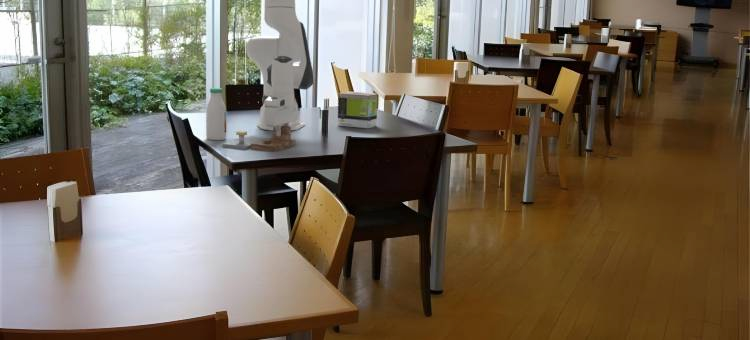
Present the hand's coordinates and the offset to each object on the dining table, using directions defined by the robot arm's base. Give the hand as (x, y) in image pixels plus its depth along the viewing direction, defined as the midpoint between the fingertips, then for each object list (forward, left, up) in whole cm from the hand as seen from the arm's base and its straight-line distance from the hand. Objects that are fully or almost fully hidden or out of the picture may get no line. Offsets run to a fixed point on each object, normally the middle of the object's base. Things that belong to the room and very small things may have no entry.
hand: (282, 135), depth 330 cm
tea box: (-56, +6, -4) cm, 57 cm away
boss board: (+7, -11, -4) cm, 14 cm away
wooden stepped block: (+7, 0, -4) cm, 7 cm away
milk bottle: (+5, -27, -4) cm, 28 cm away
